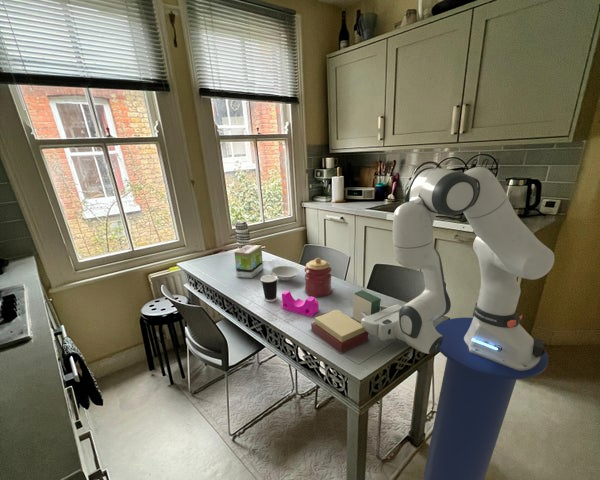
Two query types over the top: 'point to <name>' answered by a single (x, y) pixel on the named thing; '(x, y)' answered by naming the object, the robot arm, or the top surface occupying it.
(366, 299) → the book
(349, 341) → the book stack
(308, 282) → the kitchen canister
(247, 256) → the tea box
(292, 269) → the dish
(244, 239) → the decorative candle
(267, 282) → the dixie cup
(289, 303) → the toy block
